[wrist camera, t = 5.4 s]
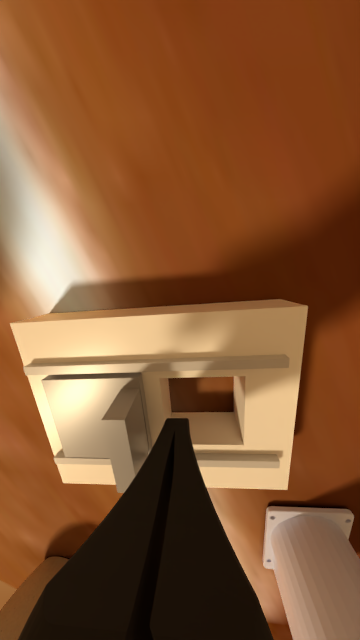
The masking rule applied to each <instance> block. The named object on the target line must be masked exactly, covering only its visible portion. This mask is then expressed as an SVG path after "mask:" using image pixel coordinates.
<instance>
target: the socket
mask: <svg viewBox="0 0 360 640" xmlns="http://www.w3.org/2000/svg"><path fill="white" fill-rule="evenodd" d="M307 312H308V306H306V305H302V304H298V303H294V302H290V301H286V300H282V299H272V300H256V301H240V302H224V303H208V304H192V305H176V306H160V307H144V308H128V309H112V310H96V311H80V312H64V313H49V314H45V315H41V316H37V317H33V318H29V319H25V320H21V321H17V322H13V323H10V325H11V328H12V331H13V334H14V337H15V340H16V343H17V346H18V349H19V352H20V355H21V358H22V361H23V364H24V367H23V369H24V372H25V375H27V376H28V379H29V382H30V385H31V388H32V391H33V394H34V397H35V400H36V403H37V406H38V409H39V412H40V415H41V418H42V421H43V424H44V427H45V430H46V433H47V436H48V439H49V442H50V445H51V448H52V451H53V454H54V461H55V464H57V466H58V469H59V472H60V475H61V478H62V481H63V483H79V484H112V485H116V482H115V478H114V474H113V469H112V465H111V461H110V458H82V457H65V455H64V452H63V449H62V445H61V442H60V439H59V436H58V433H57V429H56V426H55V423H54V420H53V417H52V414H51V410H50V407H49V404H48V401H47V398H46V394H45V391H44V388H43V385H42V382H41V380H42V379H44V378H45V377H47V376H48V375H70V374H105V373H139V372H142V379H143V386H144V393H145V400H146V407H147V414H148V420H149V427H150V434H151V441H152V447H153V446H154V444H155V442H156V440H157V438H158V436H159V434H160V432H161V430H162V427H163V425H164V423H165V420H166V419H167V418H188V419H189V427H190V436H191V441H192V445H193V449H194V452H195V456H196V459H197V463H198V466H199V469H200V472H201V475H202V478H203V480H204V483H205V486H206V487H212V488H246V489H279V490H287V487H288V479H289V470H290V461H291V452H292V444H293V435H294V426H295V417H296V408H297V400H298V391H299V382H300V373H301V365H302V356H303V347H304V338H305V329H306V321H307ZM232 376H234V412H172V410H171V400H170V390H169V381H168V378H192V377H232Z"/></svg>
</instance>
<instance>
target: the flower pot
mask: <svg viewBox="0 0 360 640" xmlns="http://www.w3.org/2000/svg"><path fill="white" fill-rule="evenodd" d="M68 560H69V559H66V558H63V557H49V558H47V559H46V560H44V561H43V562H42V563H41V564H40V565H39V566H38V567H37V568H36V569H35V570H34V571H33V573H32V574H31V575H30V576H29V577H28V578H27V579H26V580H25V581H24V582H23V583H22V585H21V586H20V587H19V588H18V589H17V590H16V592H15V593H14V594H13V595H12V597H11V598H10V599H9V600H8V602H7V603H6V604H5V605H4V606H3V608H2V609H1V610H0V640H18V638H19V636H20V634H21V632H22V630H23V628H24V626H25V624H26V622H27V620H28V617H29V616H30V614H31V612H32V610H33V608H34V606H35V604H36V603H37V601H38V599H39V597H40V595H41V594H42V592H43V590H44V588H45V586H46V584H47V583H48V582H49V581H50V580H51V579H52V578H53V577H54V576H55V574H56V573H57V572H58V571H59V570H60V569H61V568H62V567H63V566H64V565H65V564H66V563H67V561H68Z"/></svg>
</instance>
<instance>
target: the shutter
mask: <svg viewBox="0 0 360 640" xmlns="http://www.w3.org/2000/svg"><path fill="white" fill-rule="evenodd" d="M41 382H42V385H43V388H44V391H45V394H46V398H47V401H48V404H49V407H50V410H51V414H52V417H53V420H54V423H55V426H56V429H57V433H58V436H59V439H60V442H61V445H62V449H63V452H64V455H65V457H82V458H110V461H111V465H112V469H113V474H114V478H115V482H116V487H117V491H118V492H119V493H124V492H125V491H126V489H127V488H128V486H129V485H130V484H131V482H132V481H133V479H134V478H135V476H136V475H137V473H138V471H139V470H140V468H141V466H142V465H143V463H144V461H145V460H146V458H147V456H148V455H149V453H150V451H151V449H152V441H151V434H150V427H149V420H148V414H147V407H146V400H145V393H144V386H143V379H142V372H139V373H105V374H70V375H48V376H47V377H45V378H44V379H42V380H41Z"/></svg>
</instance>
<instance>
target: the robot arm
mask: <svg viewBox="0 0 360 640" xmlns="http://www.w3.org/2000/svg"><path fill="white" fill-rule="evenodd" d="M353 520H354V515H353V514H352V512H351V511H350V510H348V509H335V508H309V507H282V506H269V507H268V508H267V509H266V522H265V535H264V549H263V565H264V567H265V568H267V569H274V573H275V576H276V580H277V583H278V587H279V591H280V594H281V598H282V601H283V605H284V608H285V612H286V616H287V619H288V623H289V626H290V630H291V634H292V637H293V640H360V559H359V557H358V556H357V554H356V552H355V551H354V549H353V547H352V546H351V544H350V542H349V541H348V539H349V535H350V531H351V528H352V524H353ZM18 640H274V639H273V637H272V634H271V631H270V629H269V626H268V623H267V621H266V618H265V616H264V613H263V611H262V608H261V605H260V603H259V600H258V598H257V595H256V593H255V592H254V590H253V588H252V586H251V584H250V582H249V580H248V578H247V576H246V574H245V572H244V570H243V568H242V566H241V564H240V562H239V560H238V558H237V556H236V554H235V552H234V550H233V548H232V546H231V544H230V542H229V540H228V538H227V535H226V533H225V531H224V529H223V526H222V524H221V522H220V520H219V517H218V515H217V513H216V511H215V508H214V506H213V504H212V501H211V499H210V496H209V494H208V491H207V488H206V486H205V483H204V480H203V478H202V475H201V472H200V469H199V466H198V463H197V459H196V456H195V452H194V449H193V445H192V441H191V436H190V427H189V419H188V418H167V419H166V420H165V423H164V425H163V427H162V430H161V432H160V434H159V436H158V438H157V440H156V442H155V444H154V446H153V447H152V449H151V451H150V453H149V455H148V456H147V458H146V460H145V461H144V463H143V465H142V466H141V468H140V470H139V471H138V473H137V475H136V476H135V478H134V479H133V481H132V482H131V484H130V485H129V486H128V488H127V489H126V491H125V492H124V494H123V495H122V496H121V498H120V499H119V500H118V502H117V503H116V504H115V506H114V507H113V508H112V510H111V511H110V512H109V514H108V515H107V516H106V517H105V519H104V520H103V521H102V522H101V523H100V525H99V526H98V527H97V528H96V529H95V531H94V532H93V533H92V534H91V535H90V537H89V538H88V539H87V540H86V541H85V543H84V544H83V545H82V546H81V547H80V548H79V549H78V551H77V552H76V553H75V554H74V555H73V556H72V557H71V558H70V559H69V560H68V561H67V563H66V564H65V565H64V566H63V567H62V568H61V569H60V570H59V571H58V572H57V573H56V574H55V576H54V577H53V578H52V579H51V580H50V581H49V582H48V583H47V584H46V586H45V588H44V590H43V592H42V594H41V595H40V597H39V599H38V601H37V603H36V604H35V606H34V608H33V610H32V612H31V614H30V616H29V617H28V620H27V622H26V624H25V626H24V628H23V630H22V632H21V634H20V636H19V638H18Z"/></svg>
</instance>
